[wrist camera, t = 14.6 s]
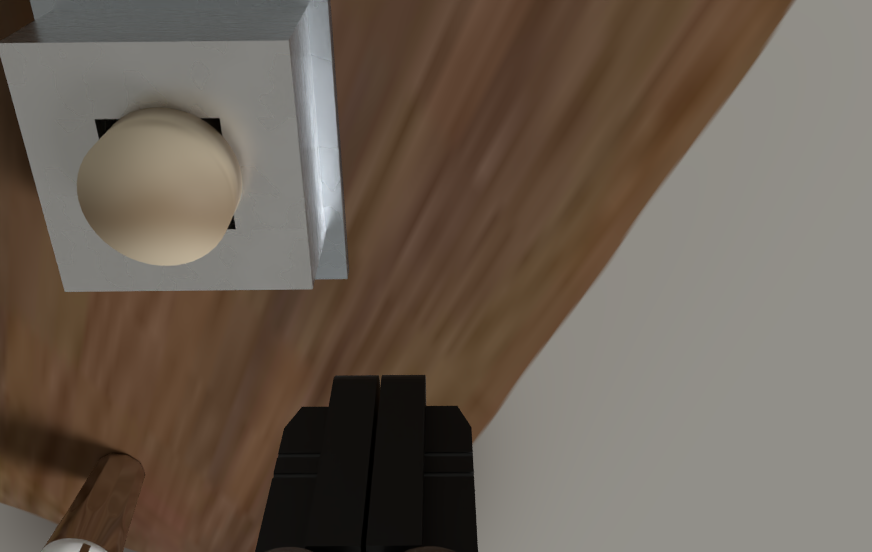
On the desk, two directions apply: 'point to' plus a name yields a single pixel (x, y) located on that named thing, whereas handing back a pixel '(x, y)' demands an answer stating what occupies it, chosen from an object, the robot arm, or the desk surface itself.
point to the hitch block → (205, 98)
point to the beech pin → (160, 186)
